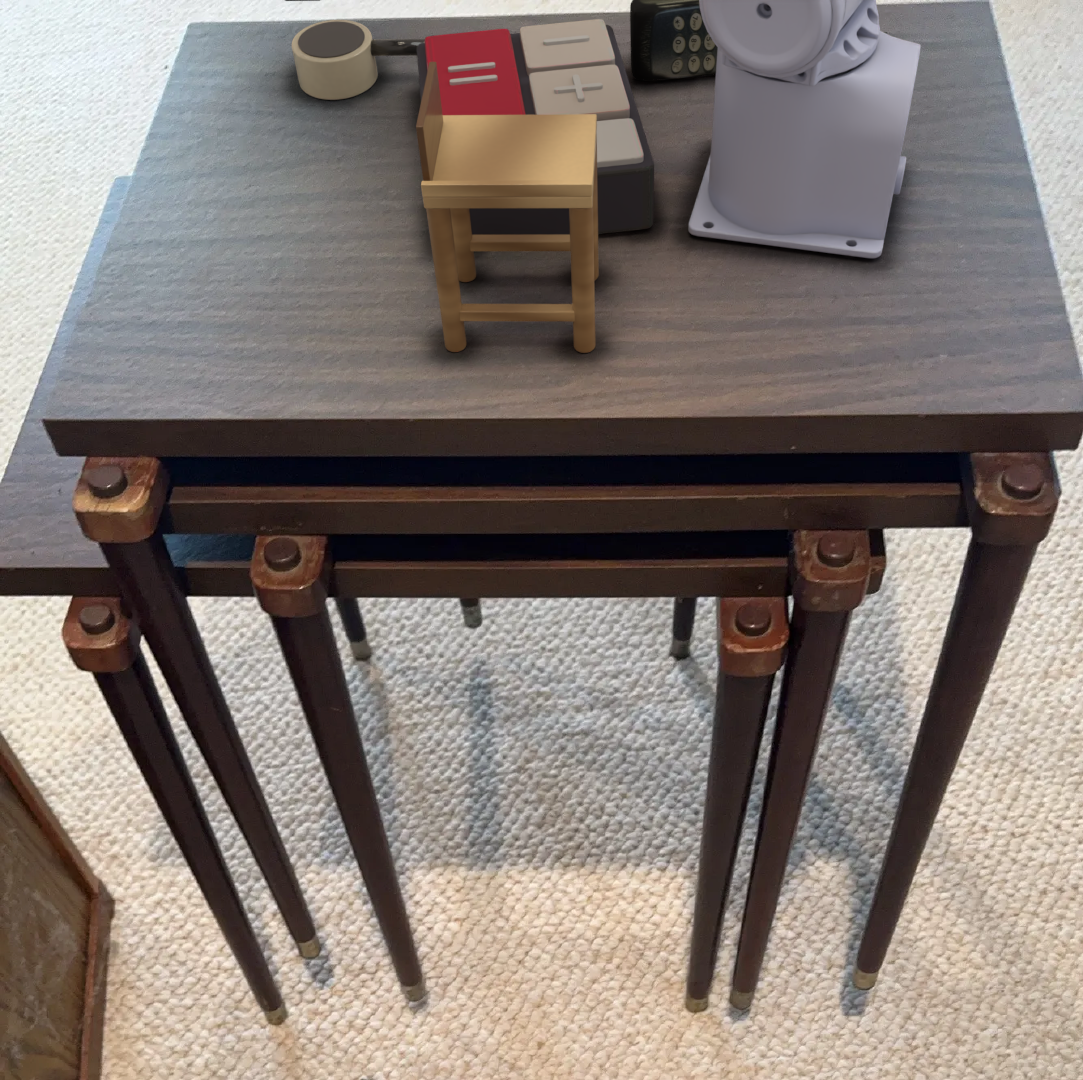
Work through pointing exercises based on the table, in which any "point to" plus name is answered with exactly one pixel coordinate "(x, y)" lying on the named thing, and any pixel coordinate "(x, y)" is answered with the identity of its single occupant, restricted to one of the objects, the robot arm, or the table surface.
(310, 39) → the pan
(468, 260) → the stand
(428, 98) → the wooden l-shaped block
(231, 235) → the table surface
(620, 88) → the calculator
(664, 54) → the mobile phone
